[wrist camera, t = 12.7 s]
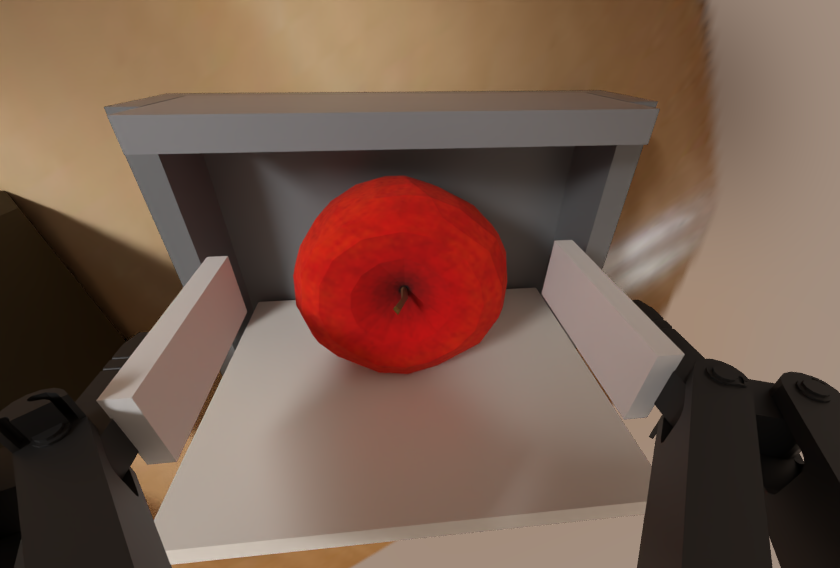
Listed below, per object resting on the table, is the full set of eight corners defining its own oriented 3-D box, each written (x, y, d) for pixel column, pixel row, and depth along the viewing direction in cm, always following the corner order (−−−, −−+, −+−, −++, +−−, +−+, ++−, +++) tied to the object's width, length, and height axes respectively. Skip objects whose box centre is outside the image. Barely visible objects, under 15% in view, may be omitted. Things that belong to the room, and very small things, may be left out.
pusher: (258, 301, 22) (137, 553, 11) (535, 287, 23) (672, 498, 12) (279, 370, 25) (203, 616, 14) (521, 354, 26) (618, 567, 16)
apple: (488, 152, 18) (547, 210, 12) (463, 293, 23) (495, 388, 17) (309, 141, 17) (266, 197, 11) (321, 291, 22) (297, 392, 16)
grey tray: (166, 93, 16) (50, 118, 11) (600, 90, 18) (704, 110, 12) (267, 385, 28) (237, 476, 22) (531, 367, 29) (569, 446, 23)
